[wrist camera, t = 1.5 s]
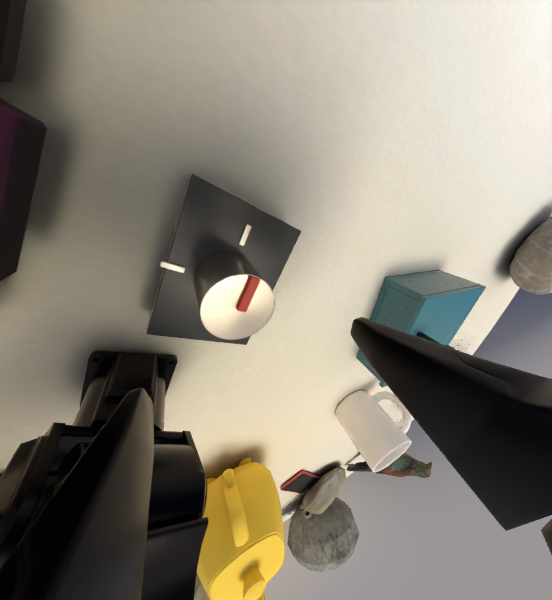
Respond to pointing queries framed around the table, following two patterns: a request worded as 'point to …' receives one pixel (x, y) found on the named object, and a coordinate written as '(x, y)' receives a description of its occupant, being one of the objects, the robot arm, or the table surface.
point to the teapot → (241, 533)
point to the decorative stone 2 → (534, 261)
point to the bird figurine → (398, 467)
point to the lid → (442, 315)
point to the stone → (324, 491)
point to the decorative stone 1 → (323, 536)
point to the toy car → (15, 146)
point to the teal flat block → (408, 299)
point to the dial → (232, 296)
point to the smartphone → (300, 482)
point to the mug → (374, 427)
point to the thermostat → (209, 241)
